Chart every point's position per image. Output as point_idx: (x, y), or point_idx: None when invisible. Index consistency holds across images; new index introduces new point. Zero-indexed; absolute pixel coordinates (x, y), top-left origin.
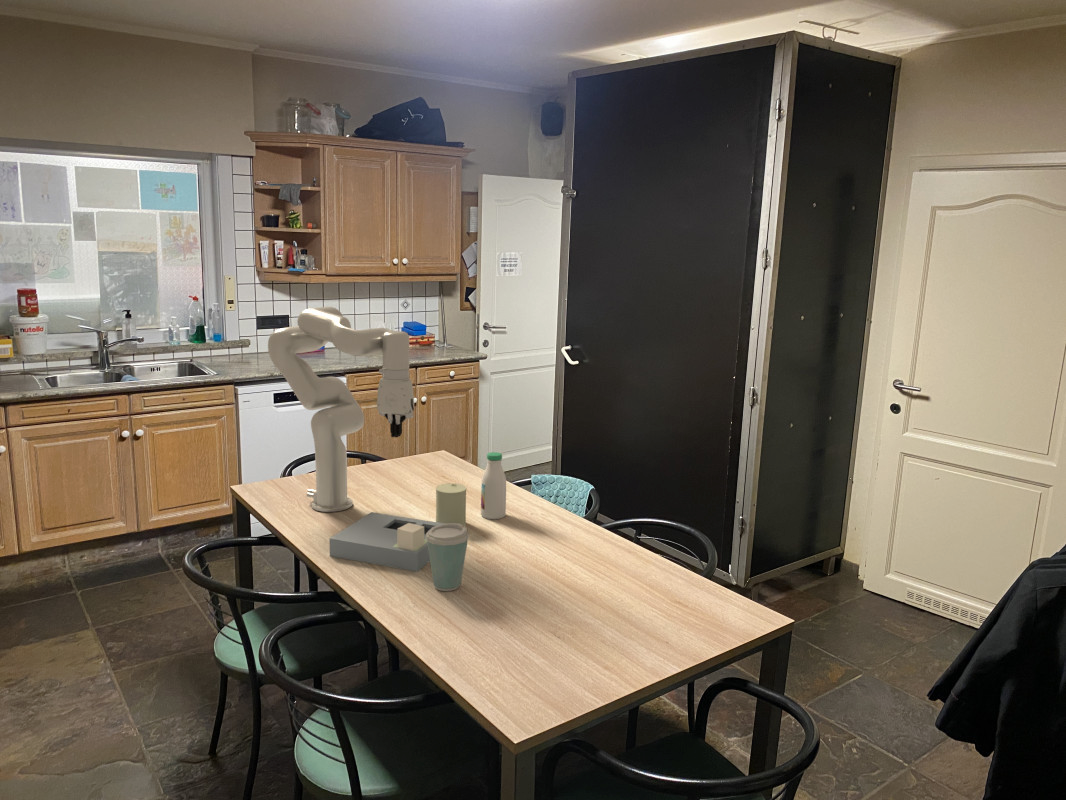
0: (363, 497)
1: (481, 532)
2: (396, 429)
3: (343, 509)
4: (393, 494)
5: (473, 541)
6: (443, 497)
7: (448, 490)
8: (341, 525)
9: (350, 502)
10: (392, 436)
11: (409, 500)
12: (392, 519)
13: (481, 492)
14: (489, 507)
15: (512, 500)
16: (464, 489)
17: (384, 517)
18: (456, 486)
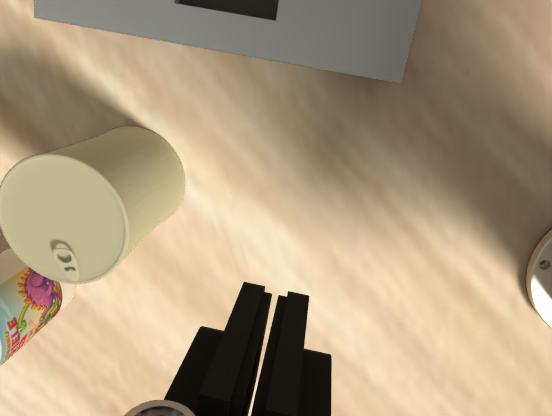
0: (502, 363)
1: (20, 128)
2: (221, 349)
3: (549, 231)
4: (404, 401)
5: (12, 42)
6: (82, 152)
7: (59, 188)
8: (518, 81)
9: (537, 285)
10: (291, 292)
11: (335, 358)
12: (284, 15)
13: (21, 304)
14: (11, 256)
15: (38, 396)
16: (2, 215)
17: (325, 30)
18: (51, 248)
